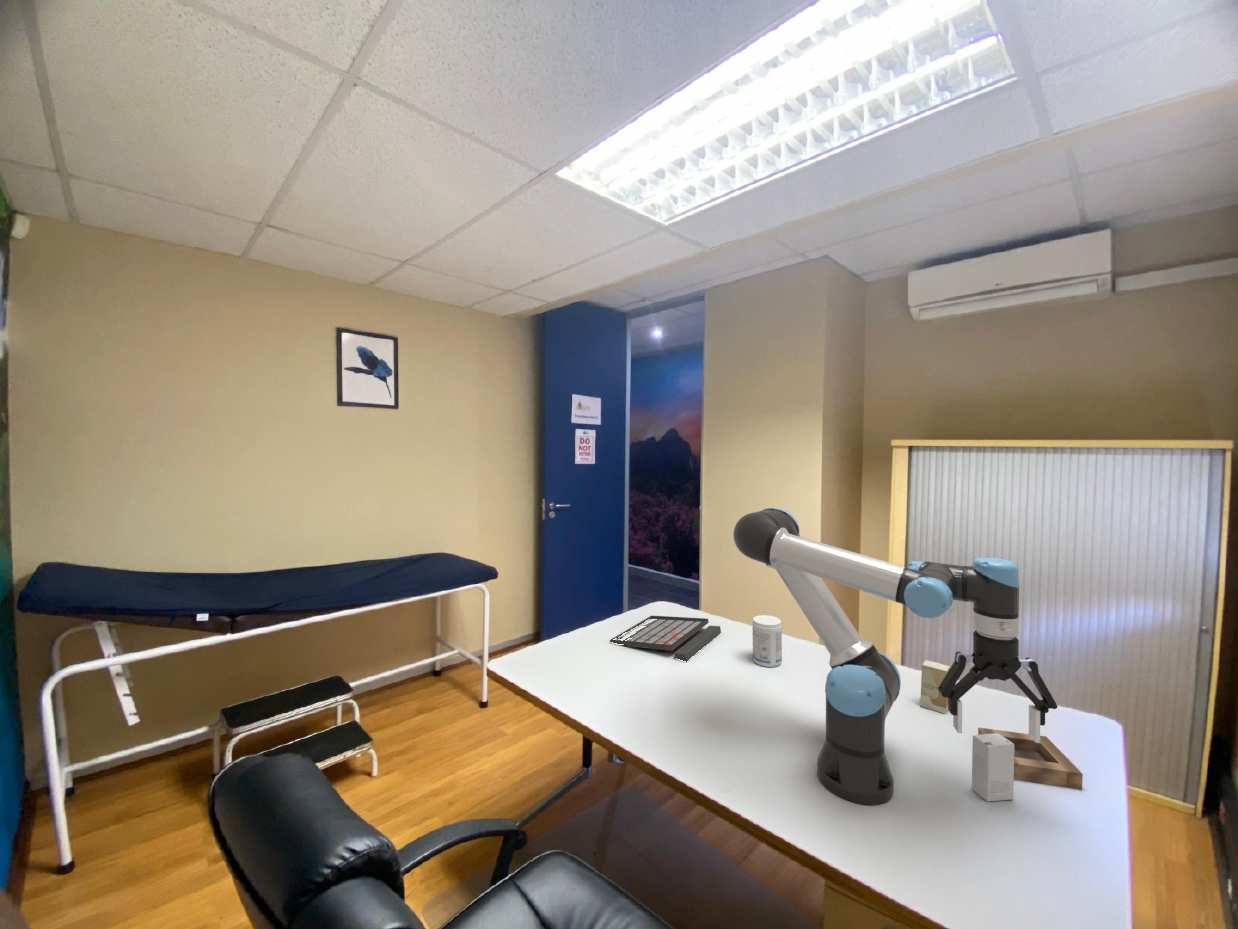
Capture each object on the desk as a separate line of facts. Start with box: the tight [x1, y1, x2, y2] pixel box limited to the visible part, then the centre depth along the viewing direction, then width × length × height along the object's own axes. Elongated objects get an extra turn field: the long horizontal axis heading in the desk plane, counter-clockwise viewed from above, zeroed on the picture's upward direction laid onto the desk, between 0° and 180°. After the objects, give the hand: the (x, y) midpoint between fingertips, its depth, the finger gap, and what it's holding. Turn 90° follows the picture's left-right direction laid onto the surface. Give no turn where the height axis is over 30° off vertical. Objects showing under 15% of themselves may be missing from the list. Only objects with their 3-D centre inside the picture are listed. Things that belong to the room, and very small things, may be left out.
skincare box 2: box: [971, 733, 1015, 802], centre depth 103 cm, size 6×4×12 cm
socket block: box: [977, 727, 1084, 791], centre depth 113 cm, size 14×14×4 cm
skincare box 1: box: [919, 659, 951, 714], centre depth 137 cm, size 6×4×12 cm
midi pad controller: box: [609, 615, 722, 663], centre depth 189 cm, size 32×7×31 cm
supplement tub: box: [752, 614, 783, 668], centre depth 167 cm, size 10×10×15 cm
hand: (995, 734), depth 102 cm, fingers open, 13 cm apart
